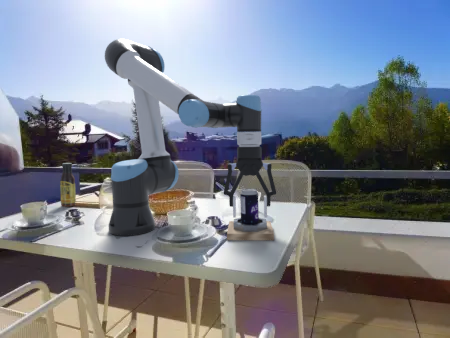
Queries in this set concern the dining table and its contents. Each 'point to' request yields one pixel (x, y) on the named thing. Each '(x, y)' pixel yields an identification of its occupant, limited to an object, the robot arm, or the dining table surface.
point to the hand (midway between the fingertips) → (249, 216)
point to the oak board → (250, 233)
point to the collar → (250, 226)
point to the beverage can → (249, 206)
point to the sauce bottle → (67, 186)
